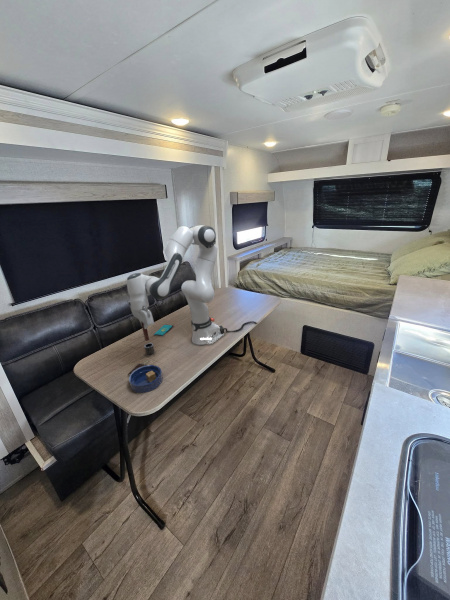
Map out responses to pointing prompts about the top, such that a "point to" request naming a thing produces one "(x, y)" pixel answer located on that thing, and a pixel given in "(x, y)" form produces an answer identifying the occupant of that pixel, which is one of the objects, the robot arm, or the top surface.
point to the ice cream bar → (138, 367)
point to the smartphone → (163, 330)
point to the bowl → (145, 379)
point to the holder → (149, 349)
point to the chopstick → (145, 333)
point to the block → (150, 376)
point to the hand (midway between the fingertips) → (144, 327)
